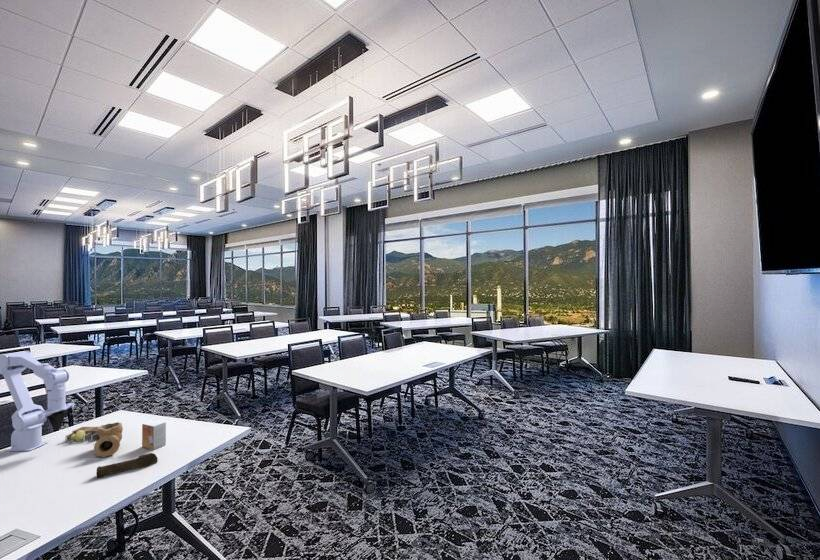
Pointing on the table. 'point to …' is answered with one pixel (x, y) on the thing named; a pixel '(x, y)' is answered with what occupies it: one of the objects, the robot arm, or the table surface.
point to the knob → (78, 436)
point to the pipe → (108, 439)
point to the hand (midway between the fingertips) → (56, 428)
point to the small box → (153, 434)
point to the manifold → (90, 434)
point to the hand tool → (127, 464)
